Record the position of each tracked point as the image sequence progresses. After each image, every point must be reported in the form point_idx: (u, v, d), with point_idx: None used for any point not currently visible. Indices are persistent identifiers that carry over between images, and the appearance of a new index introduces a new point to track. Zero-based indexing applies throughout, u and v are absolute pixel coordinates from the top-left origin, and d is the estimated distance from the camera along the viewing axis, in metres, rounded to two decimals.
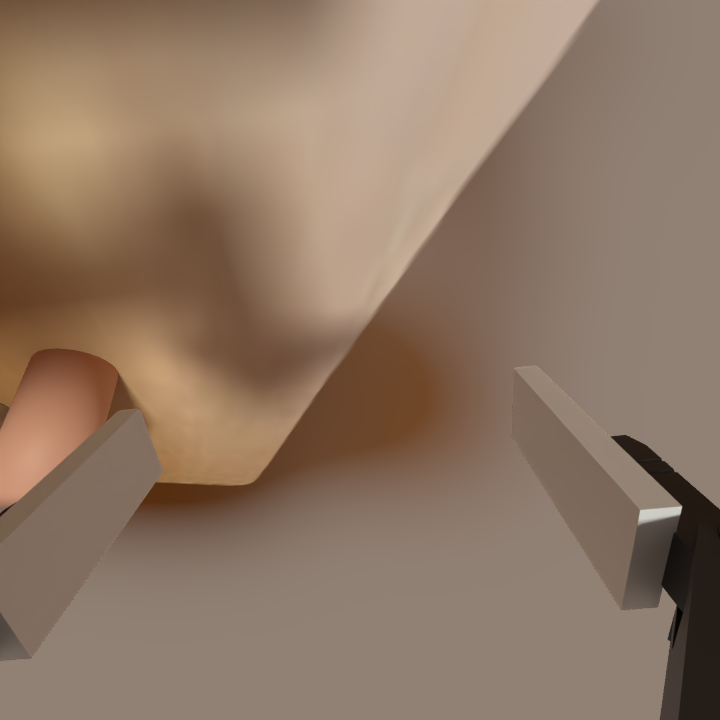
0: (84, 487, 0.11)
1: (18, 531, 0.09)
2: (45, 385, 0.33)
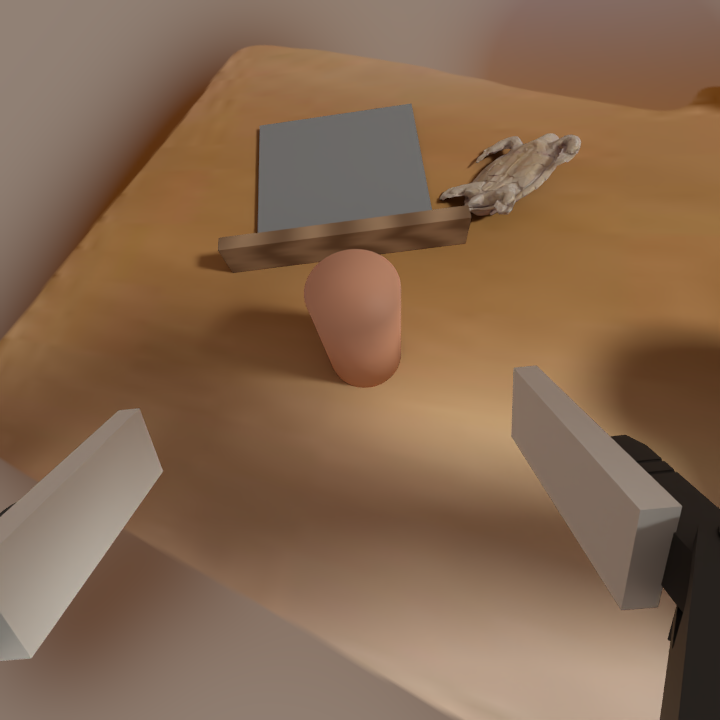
0: (84, 487, 0.11)
1: (18, 531, 0.09)
2: (400, 343, 0.36)
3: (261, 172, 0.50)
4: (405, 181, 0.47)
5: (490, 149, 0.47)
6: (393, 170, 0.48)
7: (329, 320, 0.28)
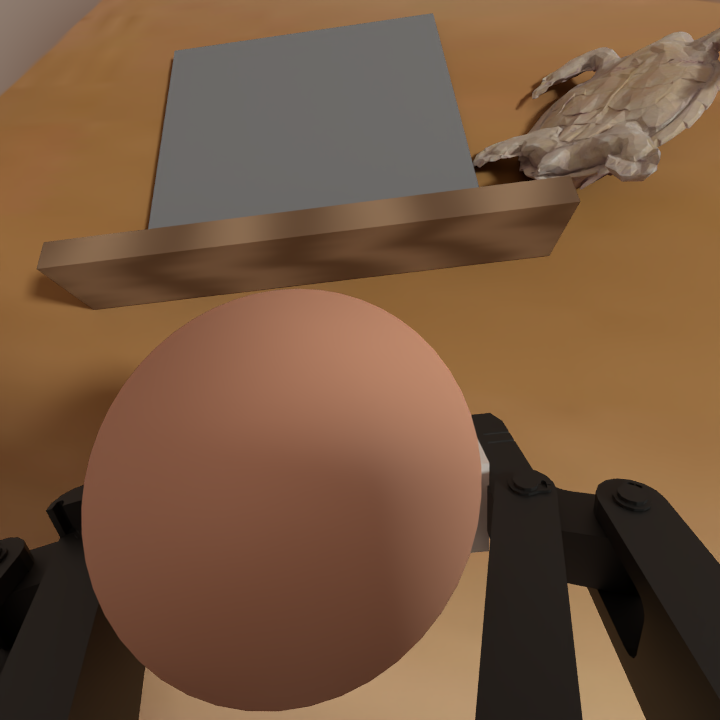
0: None
1: None
2: None
3: (168, 125, 0.28)
4: (426, 139, 0.25)
5: (556, 75, 0.26)
6: (404, 120, 0.26)
7: (165, 623, 0.06)
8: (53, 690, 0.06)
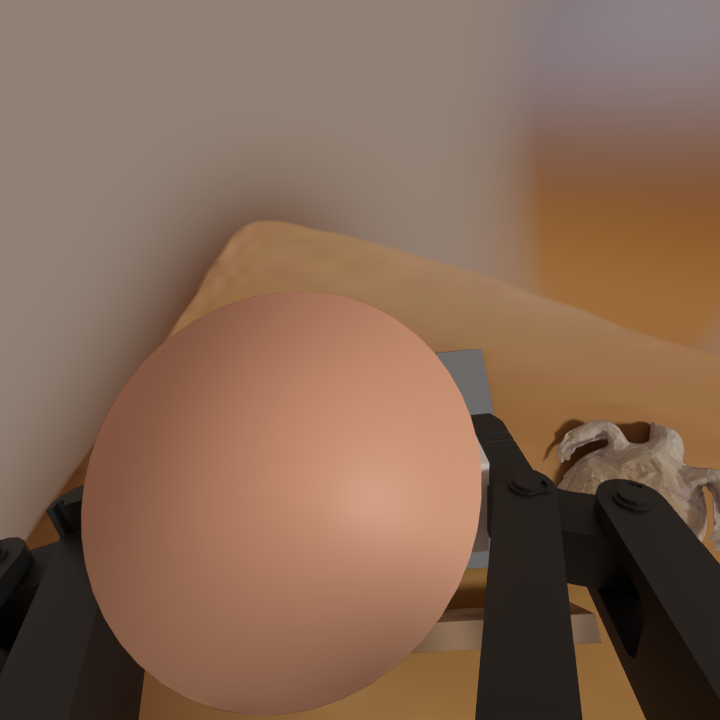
0: None
1: None
2: None
3: None
4: None
5: (576, 436, 0.33)
6: None
7: (165, 626, 0.06)
8: (53, 690, 0.06)
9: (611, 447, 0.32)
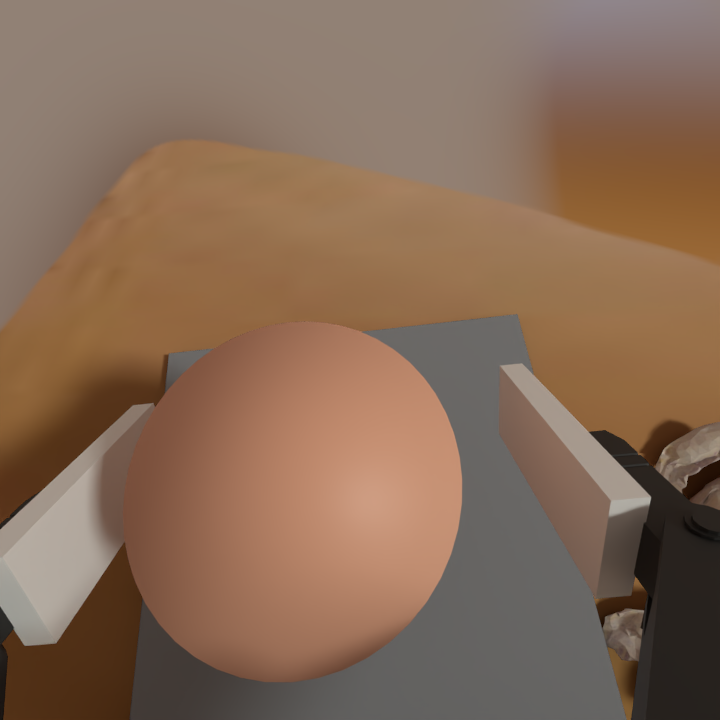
0: (103, 479, 0.11)
1: (43, 520, 0.09)
2: None
3: None
4: (531, 581, 0.17)
5: (683, 455, 0.19)
6: (495, 534, 0.18)
7: (196, 610, 0.07)
8: None
9: None
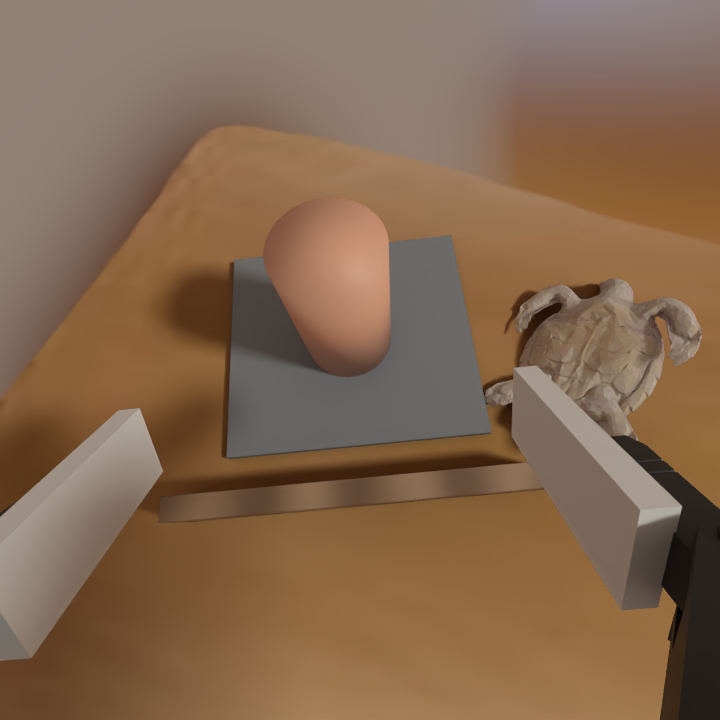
0: (84, 487, 0.11)
1: (18, 531, 0.09)
2: (389, 322, 0.29)
3: (234, 341, 0.34)
4: (447, 372, 0.32)
5: (530, 306, 0.33)
6: (429, 350, 0.32)
7: (294, 286, 0.21)
8: None
9: (565, 307, 0.32)
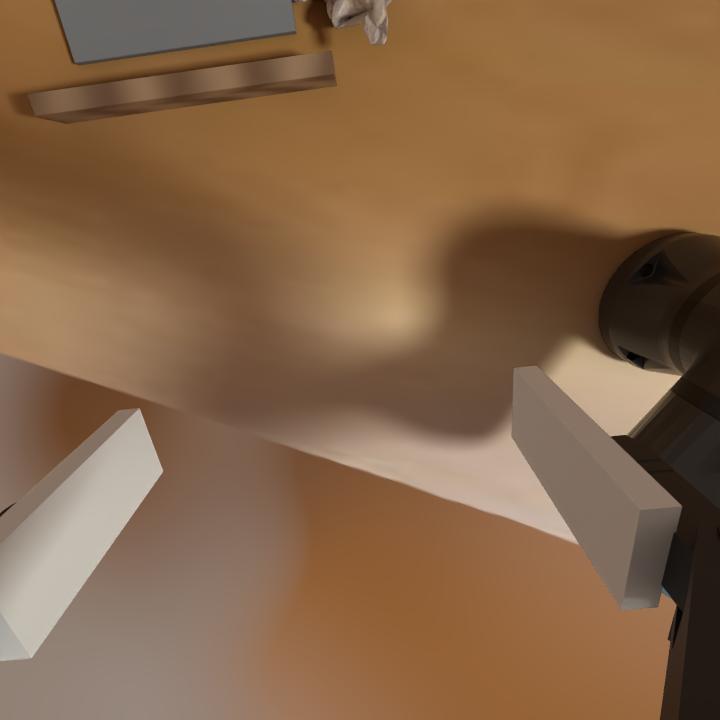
0: (84, 487, 0.11)
1: (18, 531, 0.09)
2: None
3: None
4: None
5: None
6: None
7: None
8: None
9: None
